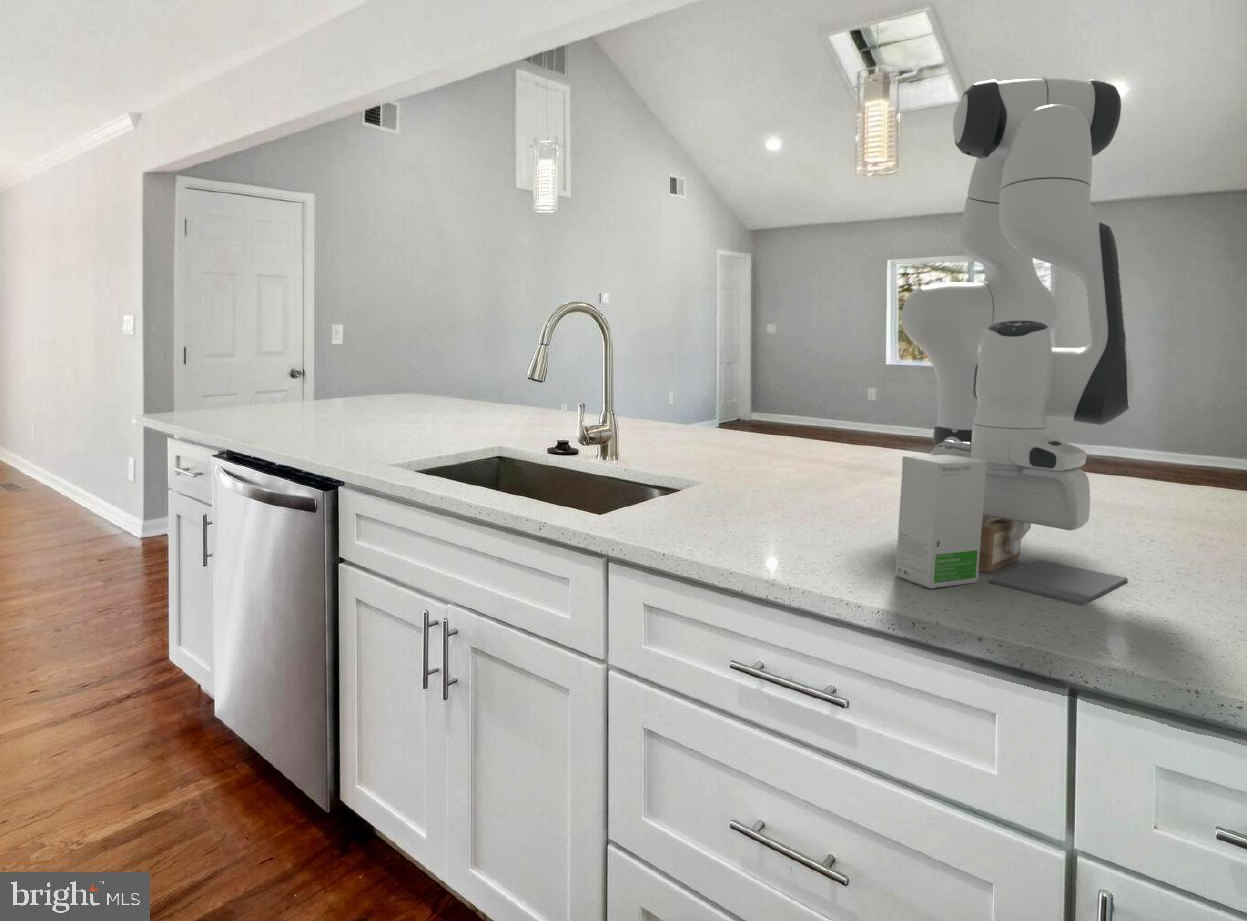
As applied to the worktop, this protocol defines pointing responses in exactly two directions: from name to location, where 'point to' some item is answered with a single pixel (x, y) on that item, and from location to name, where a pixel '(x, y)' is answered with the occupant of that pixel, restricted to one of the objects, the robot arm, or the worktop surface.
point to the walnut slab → (996, 545)
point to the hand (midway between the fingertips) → (999, 549)
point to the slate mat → (1058, 581)
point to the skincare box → (940, 520)
